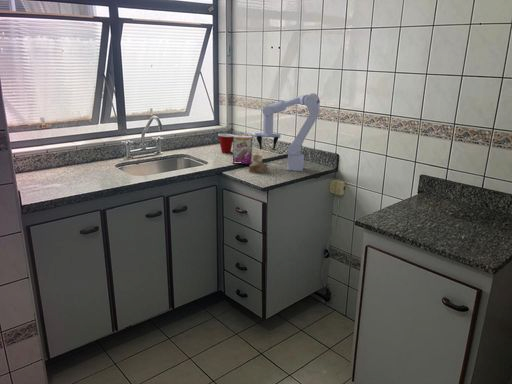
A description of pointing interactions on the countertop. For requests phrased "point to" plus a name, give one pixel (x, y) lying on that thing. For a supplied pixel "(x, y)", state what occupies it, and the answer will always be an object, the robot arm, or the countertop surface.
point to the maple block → (257, 159)
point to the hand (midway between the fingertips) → (267, 149)
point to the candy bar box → (242, 149)
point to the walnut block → (258, 168)
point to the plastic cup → (226, 142)
